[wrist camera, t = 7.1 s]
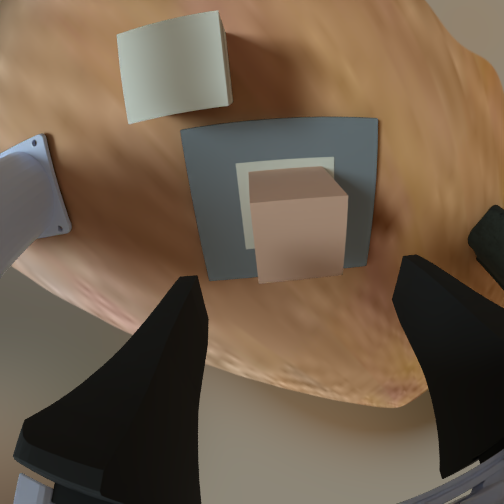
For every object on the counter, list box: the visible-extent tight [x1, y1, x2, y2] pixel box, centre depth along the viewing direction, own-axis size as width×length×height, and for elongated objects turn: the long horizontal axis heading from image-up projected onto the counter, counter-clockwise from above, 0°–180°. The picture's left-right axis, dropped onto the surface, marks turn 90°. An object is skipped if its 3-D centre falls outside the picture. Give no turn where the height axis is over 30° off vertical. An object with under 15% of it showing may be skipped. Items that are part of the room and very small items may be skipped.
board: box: [180, 117, 378, 281], centre depth 18 cm, size 12×11×1 cm
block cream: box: [117, 11, 233, 124], centre depth 12 cm, size 4×4×5 cm
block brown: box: [248, 166, 348, 284], centre depth 16 cm, size 4×4×5 cm
